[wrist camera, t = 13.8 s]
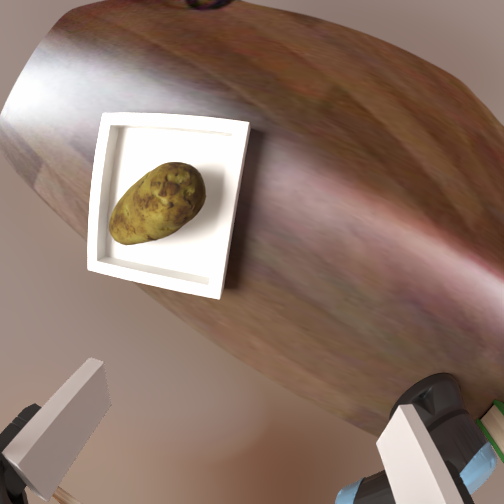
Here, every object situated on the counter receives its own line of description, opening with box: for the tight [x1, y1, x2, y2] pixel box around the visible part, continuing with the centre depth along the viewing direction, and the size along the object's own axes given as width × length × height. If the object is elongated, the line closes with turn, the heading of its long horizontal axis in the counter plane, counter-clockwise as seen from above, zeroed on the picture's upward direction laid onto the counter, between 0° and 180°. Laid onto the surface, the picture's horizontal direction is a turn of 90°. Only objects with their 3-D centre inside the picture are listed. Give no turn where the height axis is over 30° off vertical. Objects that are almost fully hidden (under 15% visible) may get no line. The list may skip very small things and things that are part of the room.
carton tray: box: [88, 113, 251, 299], centre depth 32 cm, size 20×18×4 cm
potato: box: [109, 162, 207, 246], centre depth 29 cm, size 8×13×8 cm, turn 97°
